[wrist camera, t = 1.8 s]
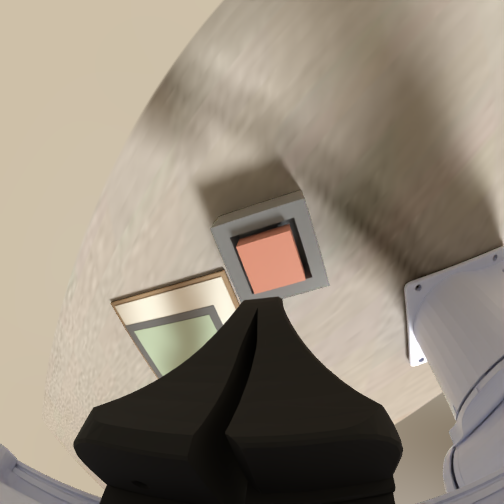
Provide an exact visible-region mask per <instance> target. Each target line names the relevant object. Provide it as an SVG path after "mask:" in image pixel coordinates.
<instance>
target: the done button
mask: <svg viewBox="0 0 504 504" xmlns="http://www.w3.org/2000/svg"><path fill="white" fill-rule="evenodd" d="M236 248H237V251H238V253H239V256H240V258H241V261H242V263H243V266H244V269H245V271H246V274H247V276H248V279H249V281H250V284H251V286H252V289H253V291H254V294H257V293H261V292H265V291H269V290H272V289H276V288H279V287H283V286H287V285H290V284H294V283H297V282H301V281H304V280H306V279H305V272H304V268H303V265H302V262H301V259H300V255H299V252H298V249H297V246H296V243H295V240H294V237H293V234H292V230H291V227H290V224H287V225H284V226H280V227H277V228H274V229H271V230H267V231H264V232H261V233H258V234H254V235H251V236H248V237H245V238H242V239H239V241H238V243H237V246H236Z"/></svg>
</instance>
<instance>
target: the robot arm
mask: <svg viewBox="0 0 504 504" xmlns="http://www.w3.org/2000/svg"><path fill="white" fill-rule="evenodd" d="M494 255H495V257H494ZM493 257H494V258H493ZM417 285H420V286H419V288H417V289H415V288H416V286H417ZM404 294H405V304H406V315H407V329H408V348H409V363H410V365H411V366H417V365H419V364H422V363H425V362H427V361H428V363H429V365H430V367H431V369H432V371H433V373H434V375H435V377H436V379H437V381H438V383H439V385H440V387H441V389H442V392H443V394H444V396H445V398H446V400H447V402H448V404H449V406H450V409H451V411H452V413H453V415H454V418H455V420H456V423H455V425H454V426H453V427H452V428H451V429H450V431H449V434H450V436H451V439H452V442H453V444H454V445H453V446H452V447H451V448H450V449H449V450H448V452H447V454H446V456H445V459H444V465H443V478H444V486H445V490H446V494H444V495H441V496H438V497H435V498H432V499H429V500H426V501H423V502H420V503H417V504H504V246H501V247H499V248H497V249H494V250H492V251H489V252H487V253H485V254H482V255H480V256H477V257H475V258H472V259H470V260H467V261H465V262H462V263H459V264H457V265H454V266H452V267H449V268H446V269H444V270H441V271H438V272H435V273H433V274H430V275H427V276H424V277H422V278H419V279H416V280H413V281H410V282H408V283H407V284H406V285H405V287H404ZM420 358H421V359H420ZM74 449H75V451H76V453H77V455H78V457H79V458H80V459H81V460H82V462H83V463H84V464H85V465H86V466H87V467H88V468H89V469H90V470H92V471H93V472H94V473H95V474H96V475H97V476H98V477H99V478H100V479H101V480H102V481H103V482H105V483H106V484H107V486H106V489H105V491H104V494H103V496H102V498H100V497H98V496H95V495H92V494H89V493H87V492H84V491H81V490H79V489H76V488H74V487H71V486H69V485H67V484H64V483H62V482H60V481H58V480H55V479H53V478H51V477H49V476H47V475H45V474H43V473H41V472H39V471H37V470H35V469H33V468H31V467H29V466H27V465H25V464H24V463H22V462H20V461H18V460H17V458H16V457H15V456H14V455H13V454H12V453H11V452H10V451H9V450H8V449H7V448H6V447H4V446H3V445H2V444H0V504H395V501H394V495H393V492H394V491H395V483H394V478H393V474H394V472H395V470H396V468H397V466H398V463H399V461H400V459H401V457H402V452H403V447H402V443H401V440H400V437H399V435H398V432H397V430H396V428H395V426H394V424H393V422H392V420H391V418H390V417H389V415H388V413H387V412H386V410H385V409H384V407H383V406H382V405H381V404H379V403H377V402H375V401H373V400H371V399H369V398H368V397H366V396H364V395H362V394H360V393H359V392H357V391H356V390H354V389H353V388H351V387H350V386H349V385H347V384H346V383H344V382H343V381H342V380H341V379H339V378H338V377H337V376H336V375H335V374H333V373H332V372H331V371H330V370H329V369H327V368H326V367H325V366H324V365H323V364H322V363H321V362H320V361H319V360H318V359H317V358H316V357H315V356H314V355H313V353H312V352H311V351H310V350H309V349H308V348H307V346H306V345H305V344H304V342H303V341H302V340H301V338H300V337H299V336H298V334H297V333H296V331H295V329H294V328H293V326H292V324H291V322H290V321H289V319H288V317H287V315H286V313H285V310H284V307H283V301H282V299H281V298H280V297H279V296H278V297H269V298H259V299H250V300H244V301H243V302H242V303H241V304H240V305H239V307H238V308H237V309H236V310H235V311H234V313H233V314H232V315H231V316H230V317H229V319H228V320H227V321H226V322H225V323H224V325H223V326H222V327H221V328H220V329H219V330H218V331H217V332H216V333H215V334H214V335H213V336H212V337H211V338H210V339H209V340H208V341H207V342H206V343H205V344H204V345H203V346H202V347H201V348H200V349H199V350H198V351H197V352H196V353H194V354H193V355H192V356H191V357H190V358H188V359H187V360H186V361H184V362H183V363H182V364H181V365H179V366H178V367H176V368H175V369H173V370H172V371H170V372H169V373H167V374H165V375H164V376H162V377H161V378H159V379H158V380H156V381H154V382H152V383H151V384H149V385H147V386H145V387H143V388H141V389H139V390H137V391H135V392H133V393H131V394H128V395H126V396H124V397H121V398H119V399H116V400H113V401H111V402H108V403H105V404H103V405H100V406H97V407H94V408H93V409H92V411H91V412H90V414H89V416H88V418H87V419H86V421H85V423H84V425H83V426H82V428H81V430H80V432H79V433H78V435H77V437H76V439H75V440H74Z"/></svg>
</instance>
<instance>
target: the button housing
mask: <svg viewBox="0 0 504 504" xmlns="http://www.w3.org/2000/svg"><path fill="white" fill-rule="evenodd" d="M287 224H290V227H291V230H292V234H293V237H294V240H295V243H296V246H297V249H298V252H299V255H300V259H301V262H302V265H303V268H304V272H305V279H306V280H304V281H301V282H297V283H294V284H290V285H287V286H283V287H279V288H276V289H272V290H269V291H265V292H261V293H257V294H254V291H253V289H252V286H251V284H250V281H249V279H248V276H247V274H246V271H245V269H244V266H243V263H242V261H241V258H240V256H239V253H238V251H237V248H236V246H237V243H238V241H239V239H242V238H245V237H248V236H251V235H254V234H258V233H261V232H264V231H267V230H271V229H274V228H277V227H280V226H284V225H287ZM210 229H211V232H212V234H213V237H214V239H215V242H216V244H217V246H218V249H219V251H220V254H221V256H222V259H223V261H224V263H225V266H226V268H227V271H228V273H229V275H230V278H231V280H232V282H233V285H234V287H235V290H236V292H237V294H238V297H239V299H240V301H241V303H242V302H243V301H244V300H250V299H259V298H269V297H278V296H279V297H280V298H281V299H284V298H287V297H291V296H295V295H298V294H302V293H305V292H309V291H313V290H316V289H320V288H323V287H326V286H330V284H329V281H328V277H327V273H326V269H325V266H324V262H323V259H322V255H321V251H320V248H319V245H318V241H317V238H316V234H315V231H314V227H313V224H312V221H311V218H310V214H309V211H308V208H307V205H306V201H305V198H304V196H303V193H302V191H301V190H299V191H296V192H293V193H290V194H287V195H283V196H280V197H277V198H274V199H271V200H268V201H264V202H261V203H258V204H255V205H252V206H249V207H246V208H243V209H240V210H237V211H234V212H231V213H228V214H225V215H222V216H219V217H218V219H217V220H216V221H215V223H214V224H213V225H212V227H211V228H210Z"/></svg>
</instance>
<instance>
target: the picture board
mask: <svg viewBox="0 0 504 504" xmlns="http://www.w3.org/2000/svg"><path fill="white" fill-rule="evenodd" d="M111 305H112V307H113V308H114V310H115V312H116V314H117V315H118V317H119V319H120V320H121V322H122V324H123V326H124V327H125V329H126V331H127V332H128V334H129V335H130V337H131V339H132V340H133V342H134V343H135V345H136V347H137V348H138V350H139V351H140V353H141V354H142V356H143V357H144V359H145V361H146V362H147V364H148V365H149V366H150V368H151V369H152V371H153V372H154V374H155V375H156V377H157V378H158V379H159V378H161V377H162V376H164V375H165V374H167V373H169V372H170V371H172V370H173V369H175V368H176V367H178V366H179V365H181V364H182V363H183V362H184V361H186V360H187V359H188V358H190V357H191V356H192V355H193V354H194V353H196V352H197V351H198V350H199V349H200V348H201V347H202V346H203V345H204V344H205V343H206V342H207V341H208V340H209V339H210V338H211V337H212V336H213V335H214V334H215V333H216V332H217V331H218V330H219V329H220V328H221V327H222V326H223V325H224V323H225V322H226V321H227V320H228V319H229V317H230V316H231V315H232V314H233V313H234V311H235V310H236V309H237V308H238V307H239V302H238V300H237V298H236V295H235V293H234V291H233V288H232V286H231V284H230V281H229V279H228V277H227V274H226V272H225V270H222V271H219V272H215V273H212V274H208V275H205V276H201V277H198V278H194V279H191V280H187V281H184V282H181V283H177V284H174V285H170V286H167V287H163V288H160V289H156V290H153V291H149V292H145V293H142V294H138V295H135V296H131V297H128V298H124V299H121V300H117V301H114V302H111Z"/></svg>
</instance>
